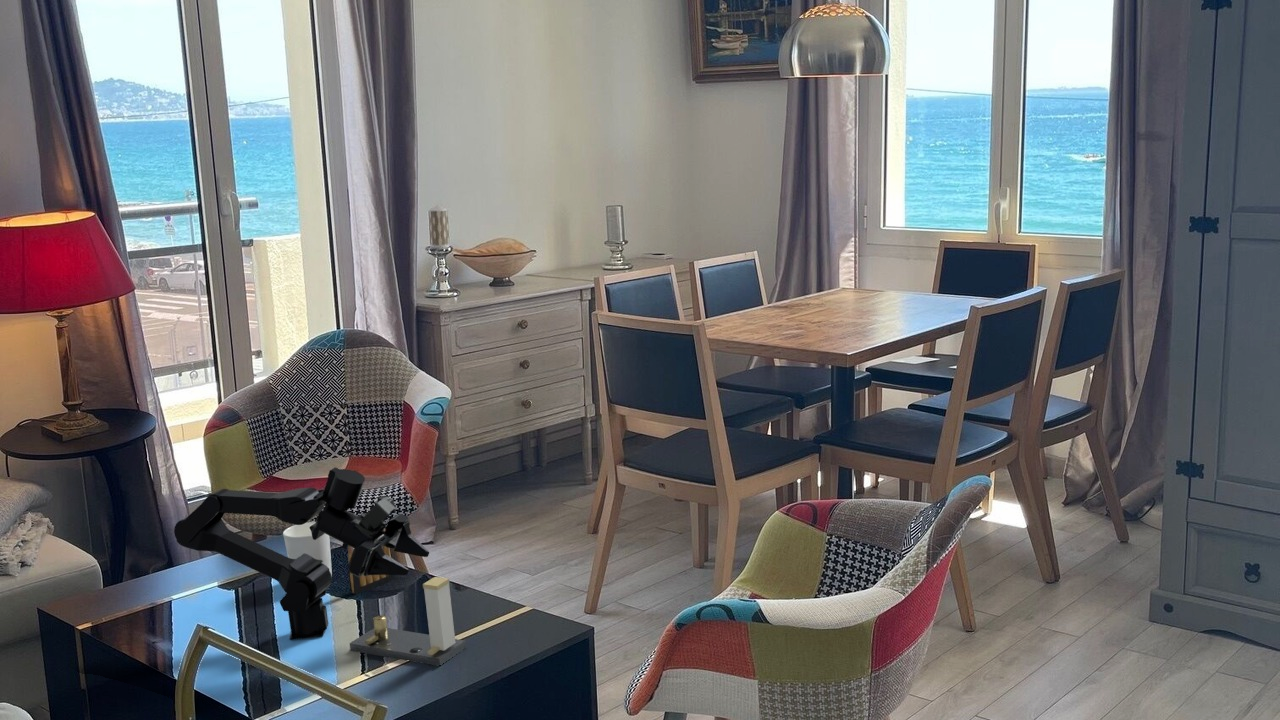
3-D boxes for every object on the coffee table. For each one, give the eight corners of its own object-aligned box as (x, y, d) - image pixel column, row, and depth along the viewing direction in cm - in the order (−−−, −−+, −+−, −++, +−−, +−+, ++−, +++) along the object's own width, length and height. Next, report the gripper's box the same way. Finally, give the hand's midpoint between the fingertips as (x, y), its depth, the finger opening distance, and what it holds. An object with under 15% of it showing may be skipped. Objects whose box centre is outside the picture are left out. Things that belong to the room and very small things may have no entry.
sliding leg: (423, 654, 217) (415, 588, 215) (442, 641, 222) (435, 576, 220) (437, 656, 216) (429, 590, 213) (456, 643, 221) (449, 578, 218)
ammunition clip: (355, 595, 253) (348, 541, 251) (350, 593, 254) (343, 540, 252) (395, 578, 261) (389, 526, 259) (390, 576, 262) (384, 525, 260)
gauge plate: (350, 650, 225) (346, 623, 224) (377, 633, 232) (374, 607, 231) (440, 666, 216) (437, 638, 215) (465, 648, 223) (462, 620, 222)
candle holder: (328, 587, 258) (321, 535, 256) (284, 590, 259) (276, 538, 256) (340, 571, 268) (334, 520, 266) (297, 573, 268) (290, 523, 266)
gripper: (336, 507, 217) (411, 545, 215) (382, 477, 235) (451, 511, 233) (318, 559, 220) (392, 596, 218) (364, 524, 238) (433, 559, 236)
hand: (418, 563), depth 226 cm, fingers open, 9 cm apart
